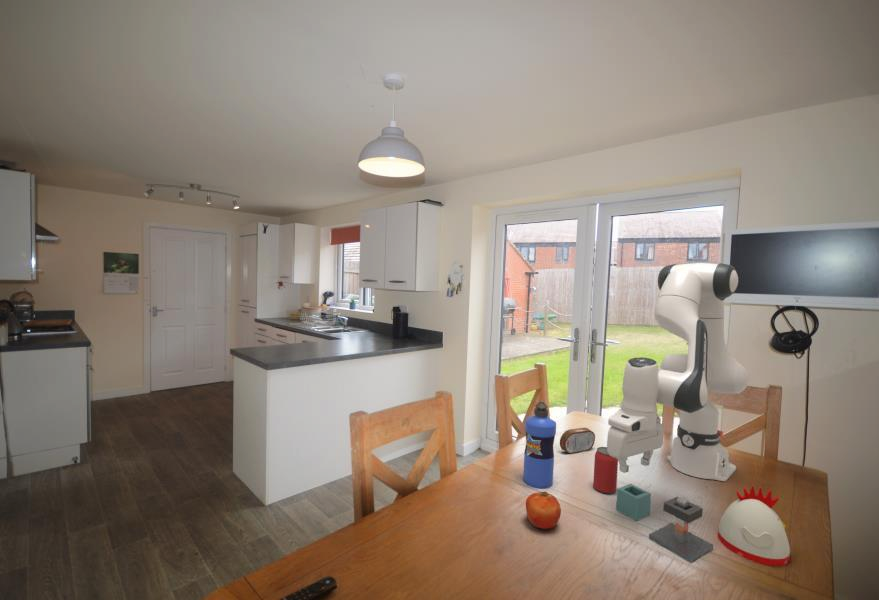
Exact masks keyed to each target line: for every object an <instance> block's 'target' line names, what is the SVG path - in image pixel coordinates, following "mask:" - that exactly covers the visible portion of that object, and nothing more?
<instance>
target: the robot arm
mask: <svg viewBox="0 0 879 600" xmlns="http://www.w3.org/2000/svg"><path fill="white" fill-rule="evenodd" d="M738 285H739V276H738V271H737V269H736V268H735V267H734V266H733V265H732V264H727V263H723V262H722V263H720V262H719V263H712V262H711V263H710V262H708V263H707V262H696V263H685V264H684V263H682V264H675V263H674V264H668V265H665V266H663V267H662V268H661V270H660V271H659V273H658V276H657V286H658V290H659V293H658V297H657V300H656V302H655V307H654V317H655V319H656V322H657V323H658V325H659V326H661V328H663V329H664V330H665V331H667V332H669V333H670V334H673V335H675V336H677V337H679V338H680V339H683V340H685V342H687V345H688V346H687V353H668V354H666V356H664V357H663V359H662V360H661V362H660V366H659V364H658V362H657V361H656V360H655V359H653V358H650V357H643V356H641V357H640V356H639V357H633V358H630V359H628V360H627V362H626V364H625V368H624V370H623V371H624V372H623V376H622V377H623V378H622V386H621V387H622V388H621V389H622V395H623V397H622V401H621V403H620V409H618V410H617V411H616V412H614V414H613V415H611V416H610V417H608V422H607V423H608V426H610V427H609V428H608V432H607V441H606V447H607V452H608V454H609V455H610V456H612V457H614V458H617V460H618V465H619V466H618V467H619V471H620V472H622V473H624V474H625V473H628V472H629V471H630V470H629V469H630V465H628V464H627V461H628V459H629V457H634V456H637V455H640V454H642V457H641V458H640V465H641V466H644V467H647V466H650V464H651V458H652V456H653V454H654V450H658V449H660V448H661V449H662V446H663V444H664V428H663V424H662V422H661V421H662V418H660V416H659V414H658V407H657V404H659V405H663V406H667V407H671V408H674V409H676V410H679V423H678V424H677V428H676V435H677V436H676V437H674V438H673V439H672V445H671V452H670V455H667V458H666V459H667V460H668V461H669V462H670V465H671V466H672V468H674V469H675V470H677V471H679V472H680V473H682V474H685V475H687V476H691V477H694V478H699V479H707V480H716V481H721V482H726V481H728V479H729V478H730V477H731V476H732V475H733V474H734V473H735V471H736V470H737V466H736V465H735V464H733V463H731V462H729V456H730V455H729V451H728V450H727V449H726V448H725V447H724V446H723V444H721V439H720V438H722V437H723V436H724V431H723V430H719V429H718V427H719V414H720V413H719V410H718V407H717V406H716V405H715V404H714V403H713V402H712V401H710V400H709V399H708V398H709V397H708V396H709V392H713V393H718V394H723V395H724V394H725V395H739V394H741V393H742V392H743V391H745V389H746V388H747V387H748V385H749V373H748V371H747V370H746V368H745V366H743V365H742V364H741V363H740V362H738V361H737V360H736V359H735V358H734V356H733V355H732V354H731V352H730V351H729V349H728V347H727V344H726V340H725V329H724V328H725V303H724V301H725V300H726V299H727V298H729V297H731V296H732V295H734V294H735V292H736V291H737V288H738ZM708 391H709V392H708Z"/></svg>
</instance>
